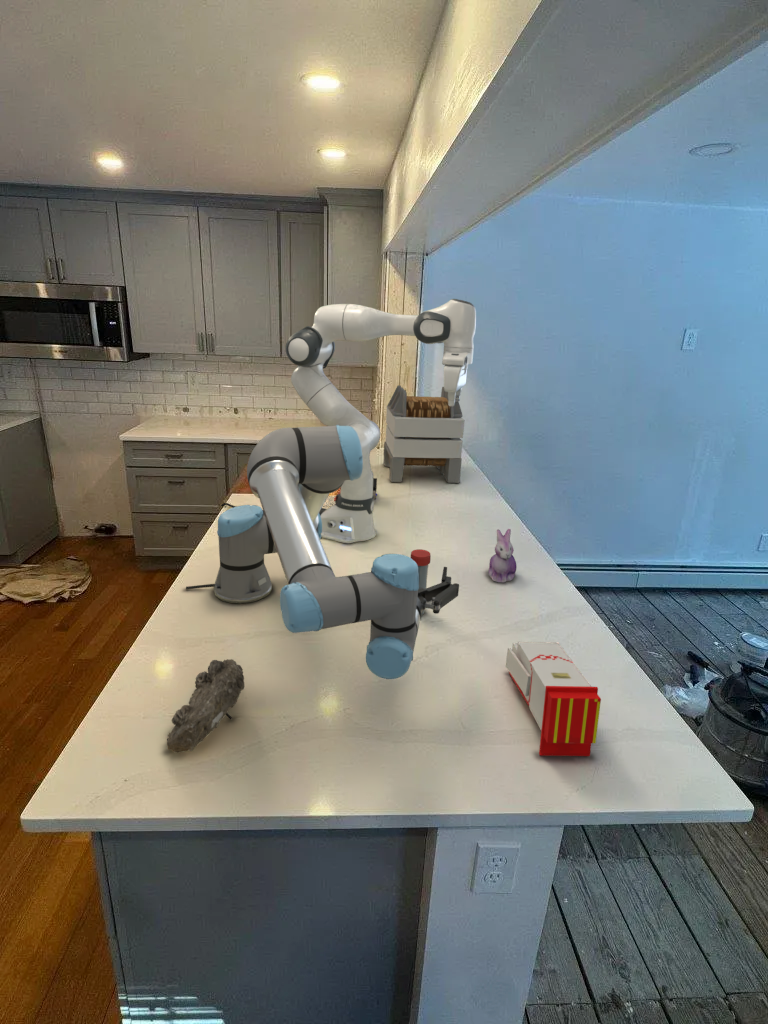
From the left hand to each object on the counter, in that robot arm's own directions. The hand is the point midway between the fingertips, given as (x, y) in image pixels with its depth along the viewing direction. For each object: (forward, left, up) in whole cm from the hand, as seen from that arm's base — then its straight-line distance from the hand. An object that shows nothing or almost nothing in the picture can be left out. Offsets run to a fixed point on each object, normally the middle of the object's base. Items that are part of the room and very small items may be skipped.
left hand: (414, 569), depth 125 cm
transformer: (-14, +152, -21) cm, 154 cm away
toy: (+29, -13, -21) cm, 38 cm away
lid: (0, +19, -5) cm, 19 cm away
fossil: (-34, -31, -21) cm, 50 cm away
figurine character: (-30, +106, -21) cm, 112 cm away
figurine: (+22, +46, -21) cm, 55 cm away
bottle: (0, +19, -21) cm, 28 cm away
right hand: (+3, +64, +27) cm, 69 cm away
